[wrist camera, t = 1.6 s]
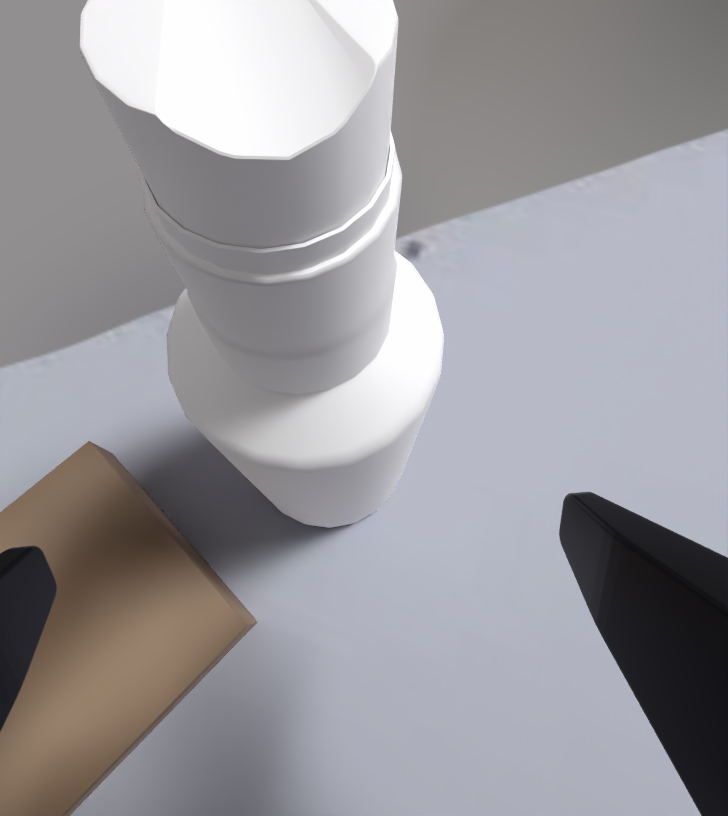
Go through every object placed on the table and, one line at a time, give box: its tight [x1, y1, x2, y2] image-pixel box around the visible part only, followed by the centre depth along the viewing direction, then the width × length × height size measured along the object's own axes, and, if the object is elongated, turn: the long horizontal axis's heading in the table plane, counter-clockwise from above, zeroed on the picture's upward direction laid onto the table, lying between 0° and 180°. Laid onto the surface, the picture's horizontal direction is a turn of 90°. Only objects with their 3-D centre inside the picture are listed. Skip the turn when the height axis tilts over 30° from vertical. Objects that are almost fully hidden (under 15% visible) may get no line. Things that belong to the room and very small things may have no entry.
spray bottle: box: [80, 0, 444, 528], centre depth 14 cm, size 7×7×18 cm
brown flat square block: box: [0, 441, 257, 816], centre depth 18 cm, size 10×10×2 cm
